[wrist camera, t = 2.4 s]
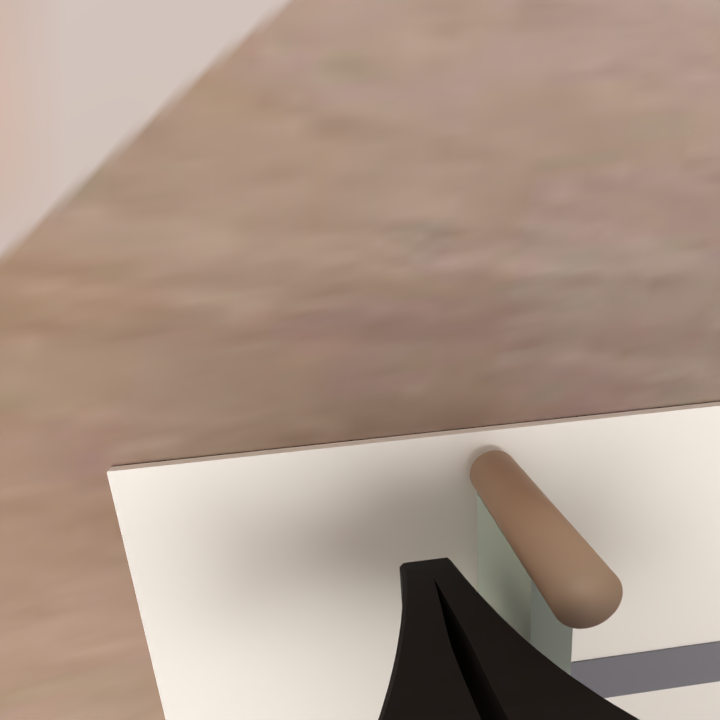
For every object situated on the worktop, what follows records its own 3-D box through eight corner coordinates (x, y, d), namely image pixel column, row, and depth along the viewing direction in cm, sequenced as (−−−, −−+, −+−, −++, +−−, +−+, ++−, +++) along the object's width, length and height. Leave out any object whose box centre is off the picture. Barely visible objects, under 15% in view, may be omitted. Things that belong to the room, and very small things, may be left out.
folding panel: (514, 679, 16) (600, 872, 11) (473, 685, 16) (542, 882, 11) (516, 447, 14) (625, 562, 9) (469, 453, 14) (553, 572, 9)
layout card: (739, 834, 20) (746, 844, 20) (217, 921, 19) (215, 935, 18) (821, 391, 15) (833, 394, 15) (111, 466, 14) (105, 472, 13)
